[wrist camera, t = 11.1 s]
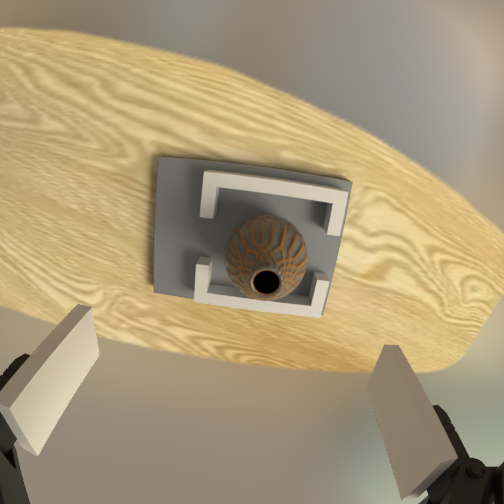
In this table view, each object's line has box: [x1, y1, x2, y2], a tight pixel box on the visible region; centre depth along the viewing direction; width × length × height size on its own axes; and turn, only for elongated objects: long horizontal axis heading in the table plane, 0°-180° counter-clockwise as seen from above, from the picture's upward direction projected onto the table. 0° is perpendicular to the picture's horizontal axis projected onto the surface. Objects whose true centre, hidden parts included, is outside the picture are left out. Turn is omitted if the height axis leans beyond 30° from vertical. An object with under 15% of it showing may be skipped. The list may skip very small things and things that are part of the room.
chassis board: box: [154, 156, 352, 318], centre depth 29 cm, size 18×14×3 cm
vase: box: [224, 214, 308, 301], centre depth 25 cm, size 7×7×9 cm
